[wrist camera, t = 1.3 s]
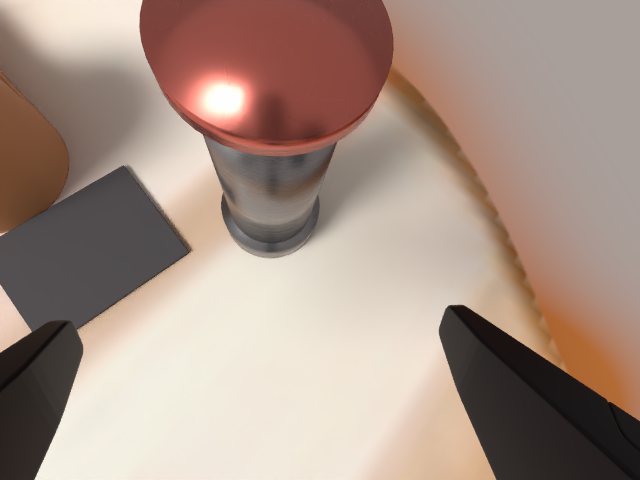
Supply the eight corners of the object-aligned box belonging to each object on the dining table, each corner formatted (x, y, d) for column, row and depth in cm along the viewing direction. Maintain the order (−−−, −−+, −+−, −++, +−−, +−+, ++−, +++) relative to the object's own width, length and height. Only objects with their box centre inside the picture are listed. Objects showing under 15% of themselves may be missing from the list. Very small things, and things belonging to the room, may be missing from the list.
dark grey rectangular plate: (189, 252, 21) (188, 251, 21) (46, 350, 19) (44, 350, 19) (124, 166, 22) (123, 165, 22) (-20, 250, 20) (-23, 249, 19)
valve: (334, 223, 23) (440, 60, 9) (261, 278, 21) (244, 189, 7) (279, 155, 24) (294, -101, 9) (204, 204, 22) (85, -13, 8)
